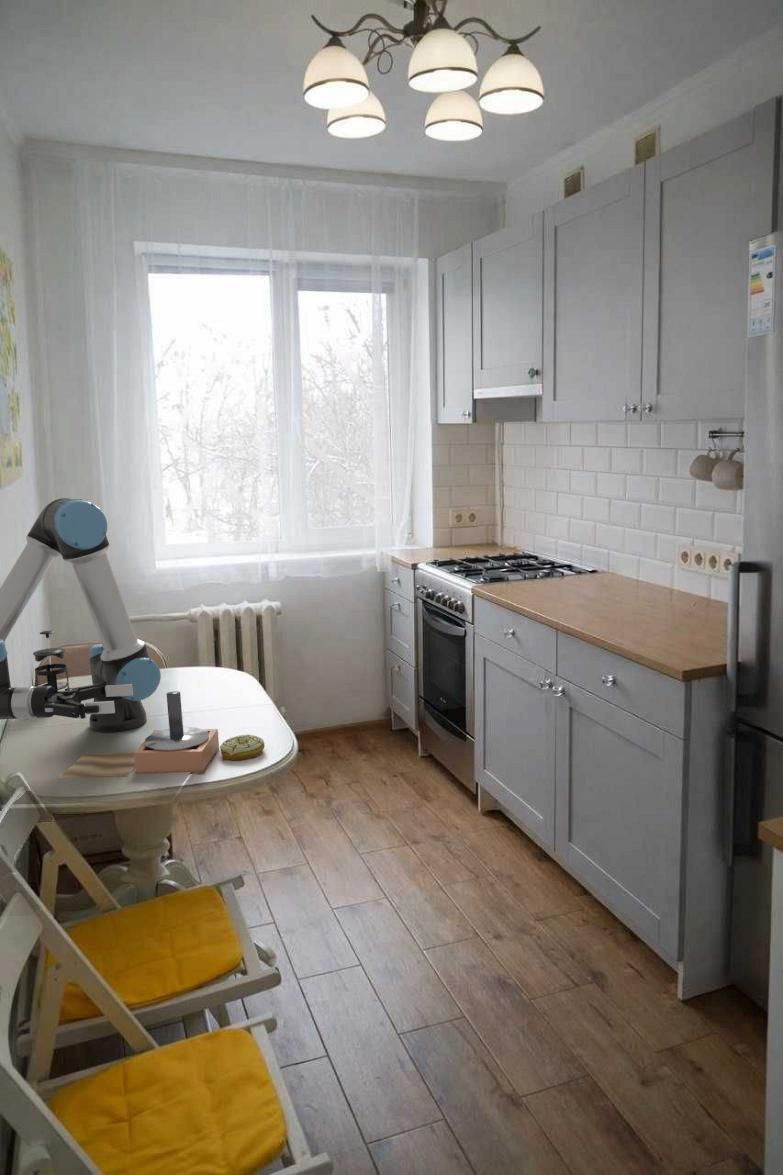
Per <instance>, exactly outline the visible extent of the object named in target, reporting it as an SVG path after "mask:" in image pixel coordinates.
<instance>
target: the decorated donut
mask: <svg viewBox="0 0 783 1175" xmlns="http://www.w3.org/2000/svg"><path fill="white" fill-rule="evenodd" d="M265 746H266V745H265V741H264V739H263V738H262V737H260V736H257V735H253V734H242V735H241V734H240V735H237V736H232V737H230V738H228V739H226V740H225V741H223V742H222V743H221V744H220V745H219V751H220V755H221V756H222V758H223V759H225V760H231V761H235V760H236V761H242V760H248V759H252V758H255V757H257V756H259V755H260V754H262V753H263V751H264V750H265Z"/></svg>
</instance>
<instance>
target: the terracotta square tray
mask: <svg viewBox="0 0 783 1175" xmlns="http://www.w3.org/2000/svg"><path fill="white" fill-rule="evenodd" d="M203 729H204V730H206V731H207V732H208V733H209V739H208V740H207V741H206V742H205V743H203V744H201V745H199V746H197V747H194V748H190V749H185V750H179V751H155V750H151V749H149V748H147V747H146V746H145V740H144V741H143V742H142V743H141V744H140V745H139V747H138V748H137V749H136V750H135V751H133V752H134V760H135V767H134V769H135V774H152V773H153V774H154V773H156V774H157V773H166V774H167V773H189V775H204V774H205V772H207V770H208V768H209V766H210V765H211V763H212V762H213V760H214V759H215V757H216V756H217V754H218V753H219V751H220V741H219V739H220V738H219V729H218V728H206V729H205V728H203ZM159 731H162V729H160V730H156V729H155V730H153V731H152V732H151V734H153V733H156V732H159Z"/></svg>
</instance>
